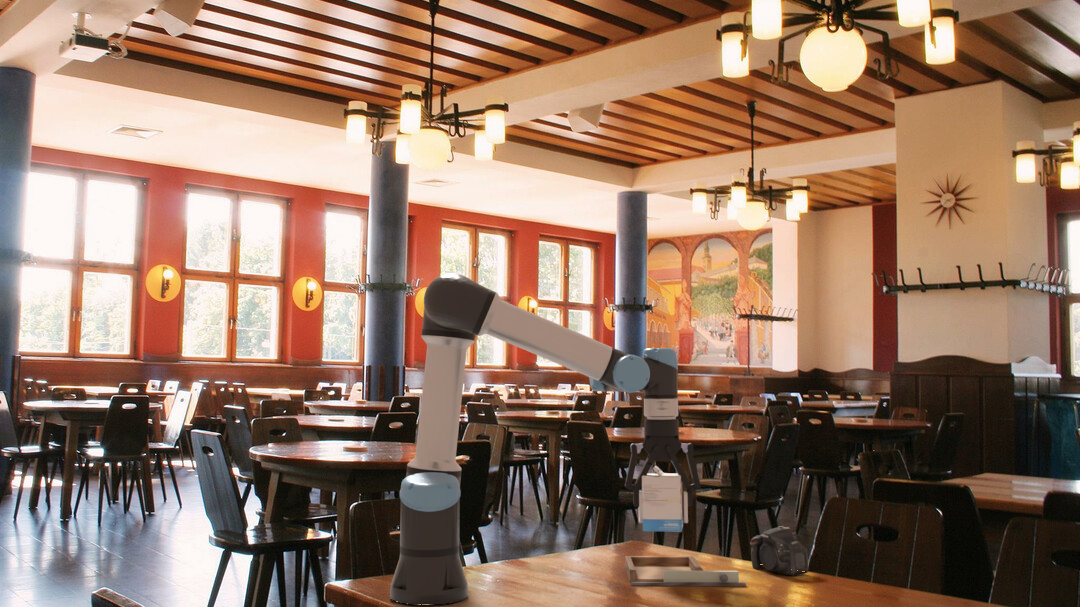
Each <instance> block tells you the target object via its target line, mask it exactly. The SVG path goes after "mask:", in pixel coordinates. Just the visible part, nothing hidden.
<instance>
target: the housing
mask: <svg viewBox="0 0 1080 607" xmlns="http://www.w3.org/2000/svg"><path fill="white" fill-rule="evenodd" d="M624 569H625V572H626V574H627V578H628V581H629V583H630V586H632V587H633V586H637V587H638V586H639V587H641V586H644V587H645V586H647V587H648V586H650V587H651V586H652V587H653V586H654V587H657V586H660V587H667V586H668V587H670V586H671V587H672V586H673V587H674V586H676V587H746V586H747V583H746V582H739V583H717V582H664V570H689V571H704V569H703V568H702V566H701V565H700V563H699V562H698V561H697V560H696V558H695V557H694V556H692V555H691V556H690V555H689V556H688V555H686V556H685V555H683V556H682V555H681V556H680V555H679V556H678V555H677V556H676V555H675V556H673V555H669V556H668V555H667V556H666V555H624Z"/></svg>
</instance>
